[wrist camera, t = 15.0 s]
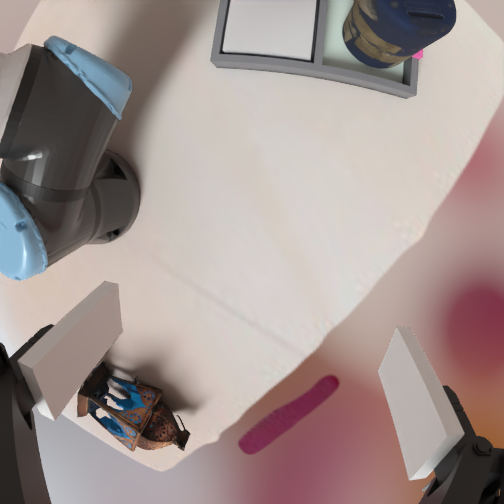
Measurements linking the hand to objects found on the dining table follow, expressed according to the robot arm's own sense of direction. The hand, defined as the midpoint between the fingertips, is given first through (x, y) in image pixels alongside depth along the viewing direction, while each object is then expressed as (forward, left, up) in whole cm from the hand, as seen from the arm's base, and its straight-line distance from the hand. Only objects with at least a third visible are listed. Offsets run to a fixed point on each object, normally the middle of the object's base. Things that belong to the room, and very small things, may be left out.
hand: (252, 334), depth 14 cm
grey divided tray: (+3, +26, -32) cm, 41 cm away
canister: (+11, +26, -31) cm, 42 cm away
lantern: (-22, -46, -32) cm, 60 cm away
